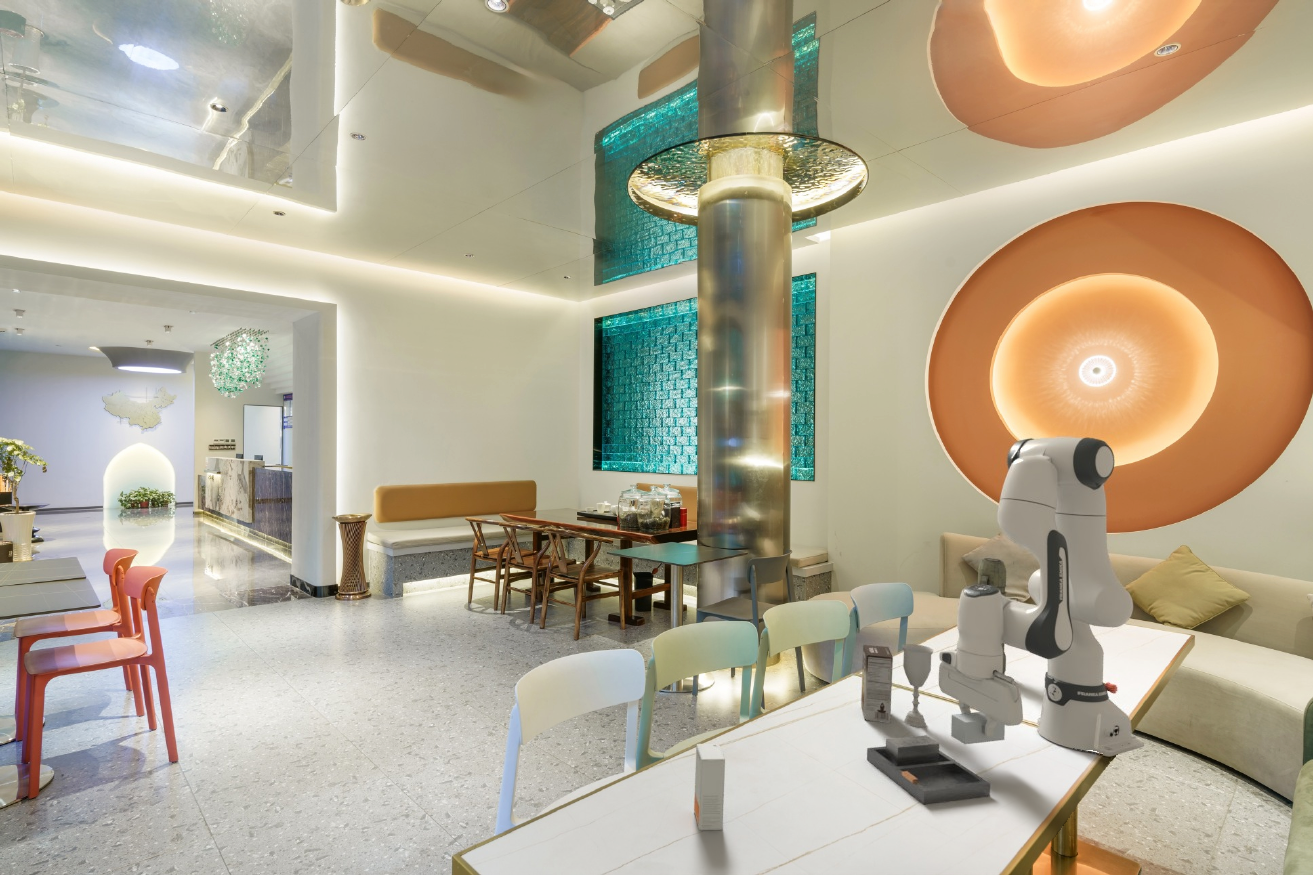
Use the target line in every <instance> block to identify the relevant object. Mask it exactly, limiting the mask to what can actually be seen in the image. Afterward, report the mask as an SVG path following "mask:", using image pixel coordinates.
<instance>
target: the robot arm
mask: <svg viewBox="0 0 1313 875" xmlns="http://www.w3.org/2000/svg"><path fill="white" fill-rule="evenodd" d="M1006 465H1007V469H1008V472H1007V473H1006V477H1005V479H1004V483H1003V484H1002V489H1001V494H1000V497H999V502H998V507H997V518H996V519H997V524H998V527H999V529H1000V530H1001V532H1002V534H1004V536H1006V537H1007V538H1008V539H1009V540H1010V541H1012V542H1013V543H1014V544H1016V545H1018V546H1020V547H1021V548H1023V549H1025V550H1026V551H1028V552H1030V553H1031V554H1032V555H1033V556H1034V558H1035V559H1036V560H1037V562H1038V565H1039V568H1038V569H1037V570H1035V571H1034V572H1032V574H1031V576H1030V577H1029V579H1028V584H1027V589H1028V594H1029V596H1030V598H1031V599H1032V600H1033V602H1034V603H1035V604H1030V603H1027V602H1022V601H1018V600H1014V599H1011V598H1009V597H1007V596H1006V597H1005V596H1003V595H1001V592H1000V590H999V589H998V588H996V587H993V586H990V585H979V584H973V585H972V584H971V585H968V586H966V587H963V589H962V590H961V592H960V595H959V601H958V605H957V618H956V627H957V631H958V640H957V642H956V649H951V650H950V649H948V650H941V651H940V652H939V655H938V657H939V660H940V663H939V666H938V687H939V689H940V692H942V694H945V695H946V696H949V697H951V698H953V699H955V700H957V701H958V707H959V709H960V712H961V713H960V714H964V713H972V711H971V709H974V710H976V711H977V712H981V713H983V714H985V715H986V720H988V721H987V723H986V725H982V733H983V734H984V735H986V736H988V737H990V736H993V735H994V728H995V726H996V725H997V723H998V722H1001V723H1003V724H1004V725H1005V726H1007V727H1009V726H1010V727H1011V726H1019V725H1021V723H1022V722H1023V721H1024V714H1023V713H1024V712H1023V711H1024V710H1023V701H1022V700H1023V699H1022V696H1021V695H1022V694H1021V689H1020V685H1018V683H1017V682H1016V681H1015V678H1013V677H1012V676H1010V675H1006V674H1005V675H1004V674H1003V649H1002V645H1001V644H1002V643H1004V645H1007V646H1008V647H1011V648H1012V647H1013V648H1015V649H1019V650H1022V651H1027V652H1029V653H1031V654H1033V655H1036V656H1038V657H1040V658H1043V659H1046V660H1047V671H1046V672H1045V676H1044V690H1045V691H1044V693H1043V699H1042V704H1041V712H1040V717H1039V718H1038V719H1037V724H1038V726H1037V732H1038V734H1039V735H1040V736H1042V738H1044V739H1046V740H1048V741H1050V742H1052V743H1054V744H1057V745H1060V746H1063V747H1066V748H1069V749H1073V748H1075V749H1074V750H1077V749H1082V750H1093V751H1097V752H1099V753H1103V755H1102V756H1105V757H1113V756H1117V755H1120V754H1123V753H1127V752H1130V751H1133V750H1137V749H1141V748H1143V747H1145V741H1144V740H1142V739H1141V738H1140V737H1138V736H1136V735H1135V734H1133V731H1132V722H1131V719H1130V717H1129V715H1128V714H1127V713H1126V712H1124V710H1122V709H1121V708H1120V707H1119V706H1118V705H1116V703H1115V702H1113V701H1112V700H1111V699H1110V697H1109V694H1108V692H1110V693H1111V694H1113V695H1114V694H1117V692H1118V688H1119V687H1118V686H1117V685H1116V684H1113V683H1110V682H1106V683H1105V682H1104V654H1105V653H1104V649H1103V647H1102V645H1101V642H1099V641H1098V639H1097V638H1096V637H1095V635H1094V633H1093V631H1092V628H1091V626H1094V627H1103V628H1118V627H1122V626H1123V625H1125V624H1126V623H1127V622H1128V621H1129V620H1130V618H1131V616H1132V614H1133V610H1134V601H1133V598H1132V595H1131V594H1130V592H1129V591H1128V590H1127V589H1126V588H1125V587H1124V586H1123V584H1122V583H1121V582H1120V580H1119V578H1118V577H1117V575H1116V572H1115V569H1114V568H1113V564H1112V562H1111V559H1110V556H1109V550H1108V542H1107V540H1108V538H1107V534H1108V533H1107V519H1108V518H1107V517H1108V516H1107V513H1108V512H1107V497H1106V490H1105V487H1104V486H1105V485H1104V484H1105V483H1106V482H1107V481H1108V480H1109V479H1110V477H1111V476H1112V474H1113V471H1114V468H1115V455H1114V452H1113V449H1112V448H1111V447H1110V445H1109V444H1108V443H1107V442H1106V441H1104V440H1101V439H1099V438H1094V437H1087V436H1086V437H1074V436H1055V437H1042V438H1032V437H1031V438H1026V439H1020V440H1018V441H1016V442H1014V444H1013V445H1012V446H1011V447H1010V448H1009V450H1008V453H1007V457H1006ZM1122 745H1123V746H1122ZM1082 750H1081V751H1082Z"/></svg>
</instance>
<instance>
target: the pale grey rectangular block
mask: <svg viewBox="0 0 1313 875" xmlns="http://www.w3.org/2000/svg"><path fill="white" fill-rule="evenodd" d="M987 721H988V720H986V715H985V714H983V713H981V712H980V711H975V712H971V713H964V714H962V713H956V714H955V713H954V714H951V723H950V728H951V729H950V731H951V734H950V735H951V737H952V738H954V739H955V740H957V741H958V742H960V743H962V744H963V745H972V744H980V743H981V744H982V743H989V742H997V741H1005V732H1006V730H1005V726H1006V725H1004V724H1003V723H1001V722H998V723H997V725H996V726H995V728H994V735H993V736H990V737H988V736H986V735H984V734H983V733H982V725H986V723H987Z"/></svg>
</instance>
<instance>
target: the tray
mask: <svg viewBox="0 0 1313 875" xmlns="http://www.w3.org/2000/svg"><path fill="white" fill-rule="evenodd" d="M866 748H867V749H866V760H867V761H868V762H869V763H871V764H872V765H873V766H874V767H875V768H877V769H878V770H879V771H881V772H882V773H883V774H884V775H886V776H887V777H888V778H889V779H891V780H892V781H893V782H894V783H896V784H897V785H898V786H900V787H901V788H902V789H903V790H905V791H906V792H907V793H908V794H910V796H912V797H914V798H915V799H916V800H917V801H918V802H920V803H921V804H922V805H928V804H929V805H930V804H931V805H932V804H937V803H938V804H939V803H946V802H954V801H960V800H963V801H964V800H969V799H970V800H971V799H977V798H978V799H979V798H986V797H990V796H991V783H990V782H989V781H987V780H986V779H984V778H982V777H981V776H980V775H978V774H976V773H975V772H973V771H972V770H970V769H968V767H966V766H964V765H963V764H961V763H960V762H958V761H956V760H955V759H953V758H952V757H950V756H949V755H947V754H945V753H944V752H943V751H941V749H940V743H939V742H938V741H937V740H935V739H933V738H931V737H930V736H928V735H927V734H925V735H917V736H915V735H914V736H905V737H904V736H903V737H893V738H885V746H875V747H866Z"/></svg>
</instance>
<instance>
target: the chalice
mask: <svg viewBox="0 0 1313 875" xmlns="http://www.w3.org/2000/svg"><path fill="white" fill-rule="evenodd" d="M901 647H902V648H901V649H902V650H903V660H902V661H903V662H902V663H903V664H902V665H903V670H904V673H905V675H906V679H907V680H908V682H909V685H910V686H912V687H913V692H912V694H911V695H912V696H913V700H912V701H911V703H912V709H911V710H910V711H908V712H907V713H906V716H905V718H904V720H903V722H904V723H905V724H906V725H909V726H912V727H915V728H916V727H917V728H923V727H926V726H927V724H926V721H925V718H924V715H923V714H922V712H920V710H919V709H918V707H919V705H920V702H919V697H920V694H919V690H920V688H922V687H923V686H924V685H925V683H926V681H927V680H928V678H929V676H930V673H931V670H932V654H933V653H934V651H935V650H934V649H933V648H932V647H929V646H925V645H923V644H922V645H921V644H916V643H915V644H914V643H906V644H902V645H901Z"/></svg>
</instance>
